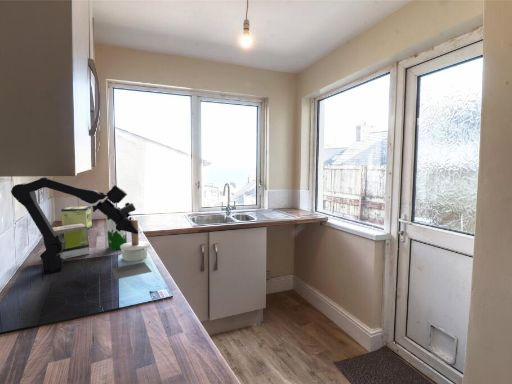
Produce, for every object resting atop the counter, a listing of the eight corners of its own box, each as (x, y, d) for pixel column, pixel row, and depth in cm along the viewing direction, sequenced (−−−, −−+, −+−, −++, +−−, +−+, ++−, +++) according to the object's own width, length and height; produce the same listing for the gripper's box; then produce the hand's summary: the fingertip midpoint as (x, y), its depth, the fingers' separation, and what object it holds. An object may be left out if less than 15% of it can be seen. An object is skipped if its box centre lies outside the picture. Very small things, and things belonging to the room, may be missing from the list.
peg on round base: (131, 252, 127) (130, 224, 126) (114, 247, 134) (113, 221, 132) (155, 245, 138) (154, 219, 136) (138, 241, 145) (137, 216, 143)
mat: (115, 280, 113) (115, 279, 113) (110, 269, 125) (110, 268, 125) (152, 272, 121) (152, 271, 121) (144, 263, 133) (144, 262, 133)
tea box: (84, 250, 153) (82, 222, 152) (89, 254, 146) (88, 225, 144) (50, 256, 143) (48, 227, 141) (54, 261, 135) (52, 230, 134)
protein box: (87, 230, 198) (86, 208, 196) (62, 231, 194) (60, 209, 193) (92, 227, 208) (91, 206, 206) (68, 228, 204) (66, 206, 203)
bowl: (124, 263, 132) (124, 253, 132) (120, 257, 141) (120, 248, 141) (149, 258, 138) (149, 249, 138) (144, 253, 148) (143, 244, 147)
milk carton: (106, 247, 157) (104, 211, 155) (122, 244, 164) (121, 209, 162) (112, 251, 151) (110, 213, 149) (129, 247, 158) (127, 211, 156)
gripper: (122, 200, 123) (151, 223, 129) (124, 195, 141) (149, 216, 146) (103, 219, 121) (132, 242, 126) (107, 212, 138) (133, 233, 144)
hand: (137, 232), depth 136 cm, fingers closed on peg on round base, 3 cm apart
